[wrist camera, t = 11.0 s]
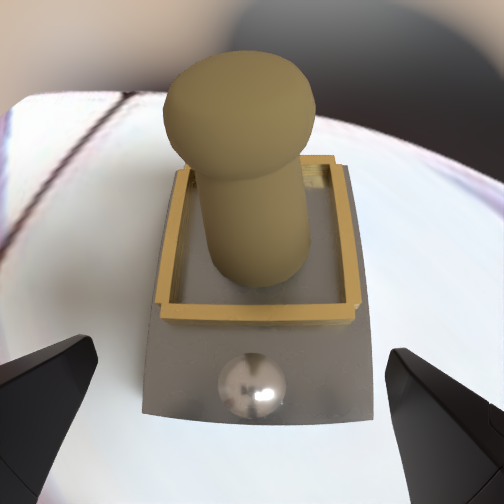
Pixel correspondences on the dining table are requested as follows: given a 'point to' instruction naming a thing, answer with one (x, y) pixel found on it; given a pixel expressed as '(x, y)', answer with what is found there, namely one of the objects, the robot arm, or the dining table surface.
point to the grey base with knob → (262, 320)
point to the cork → (246, 160)
